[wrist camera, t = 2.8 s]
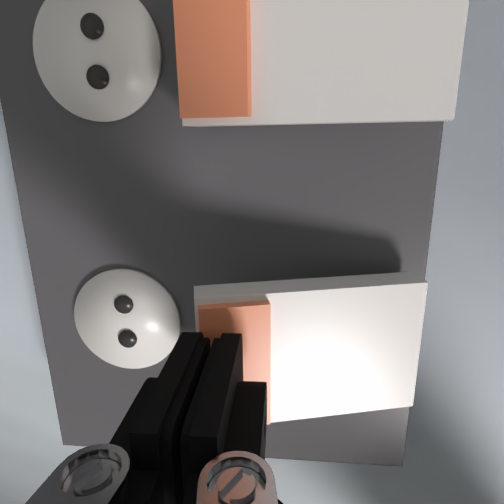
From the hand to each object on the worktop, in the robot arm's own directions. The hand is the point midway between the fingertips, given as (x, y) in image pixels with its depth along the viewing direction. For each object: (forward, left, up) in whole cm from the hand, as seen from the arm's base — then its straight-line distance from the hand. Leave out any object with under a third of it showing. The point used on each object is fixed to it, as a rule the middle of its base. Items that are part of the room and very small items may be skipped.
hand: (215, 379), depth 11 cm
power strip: (0, -5, -6) cm, 8 cm away
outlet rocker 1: (-3, -9, -2) cm, 10 cm away
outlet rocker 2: (-3, 0, -2) cm, 3 cm away
